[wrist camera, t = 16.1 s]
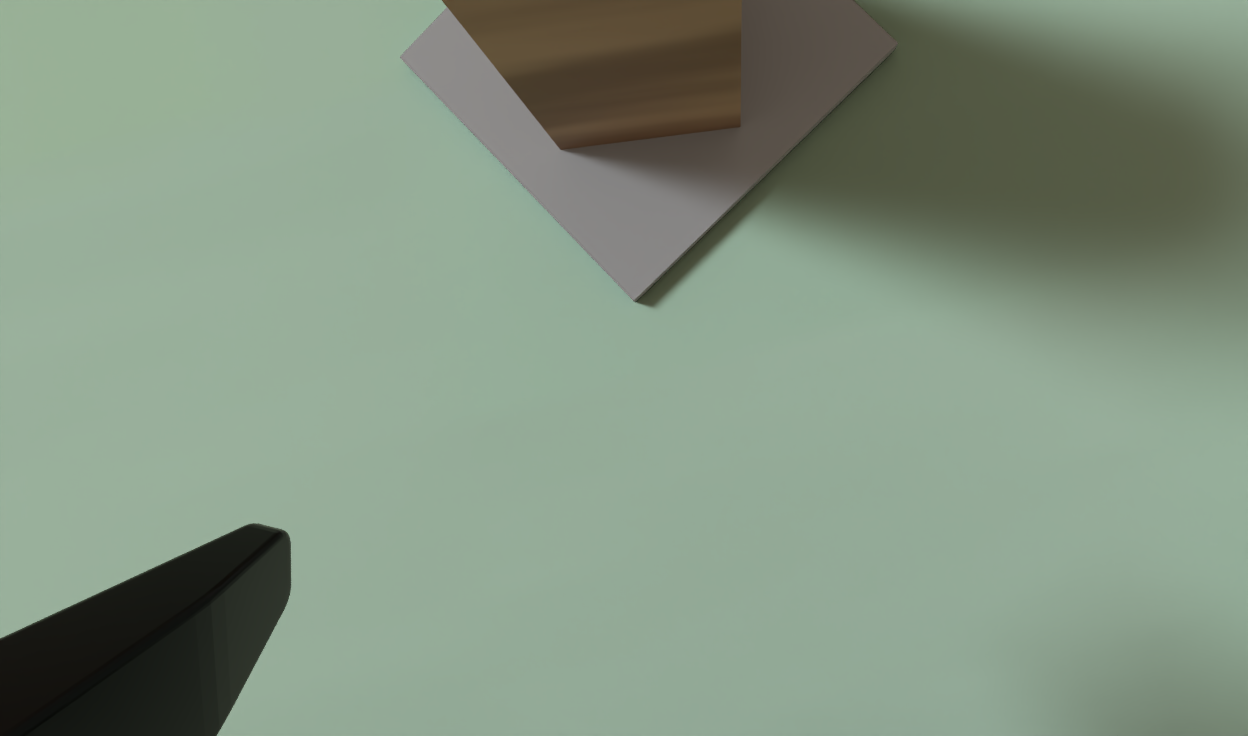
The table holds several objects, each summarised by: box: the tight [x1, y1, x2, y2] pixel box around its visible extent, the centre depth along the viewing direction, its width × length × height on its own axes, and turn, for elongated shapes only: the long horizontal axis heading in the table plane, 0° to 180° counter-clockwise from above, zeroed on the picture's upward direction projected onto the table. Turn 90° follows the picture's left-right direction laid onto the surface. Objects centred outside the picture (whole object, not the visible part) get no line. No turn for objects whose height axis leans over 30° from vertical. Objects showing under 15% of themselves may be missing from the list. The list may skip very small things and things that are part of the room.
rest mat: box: [400, 0, 898, 302], centre depth 22 cm, size 9×9×1 cm
